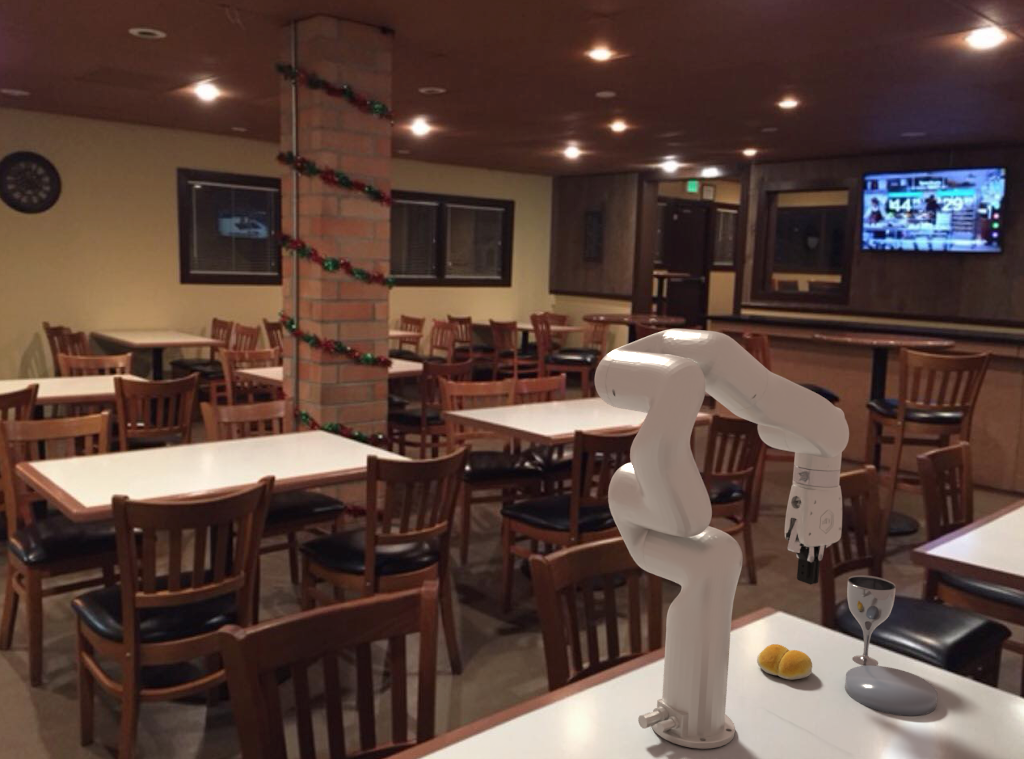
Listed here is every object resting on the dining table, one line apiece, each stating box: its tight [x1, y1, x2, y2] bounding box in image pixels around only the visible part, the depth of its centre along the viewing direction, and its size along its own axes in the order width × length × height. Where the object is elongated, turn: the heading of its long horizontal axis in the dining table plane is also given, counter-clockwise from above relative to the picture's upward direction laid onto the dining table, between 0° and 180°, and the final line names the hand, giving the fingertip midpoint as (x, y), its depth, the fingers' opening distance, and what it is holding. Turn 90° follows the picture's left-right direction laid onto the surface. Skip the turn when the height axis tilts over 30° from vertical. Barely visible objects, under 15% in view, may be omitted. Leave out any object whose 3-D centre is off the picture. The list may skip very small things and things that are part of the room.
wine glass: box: [846, 574, 896, 666], centre depth 157 cm, size 8×8×15 cm
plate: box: [844, 665, 938, 717], centre depth 145 cm, size 14×14×2 cm
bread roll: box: [756, 643, 813, 680], centre depth 152 cm, size 8×9×4 cm
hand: (807, 581), depth 151 cm, fingers closed
